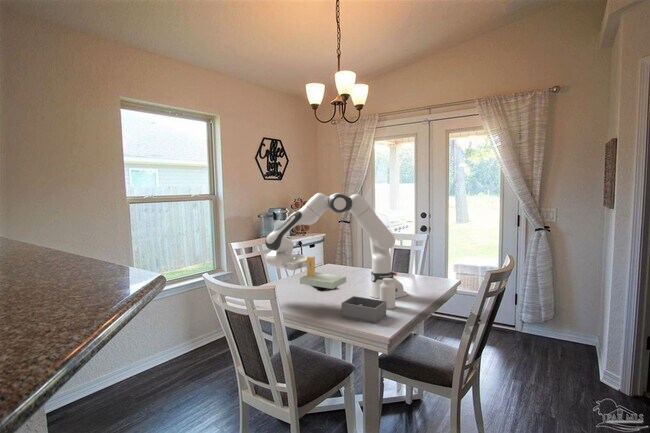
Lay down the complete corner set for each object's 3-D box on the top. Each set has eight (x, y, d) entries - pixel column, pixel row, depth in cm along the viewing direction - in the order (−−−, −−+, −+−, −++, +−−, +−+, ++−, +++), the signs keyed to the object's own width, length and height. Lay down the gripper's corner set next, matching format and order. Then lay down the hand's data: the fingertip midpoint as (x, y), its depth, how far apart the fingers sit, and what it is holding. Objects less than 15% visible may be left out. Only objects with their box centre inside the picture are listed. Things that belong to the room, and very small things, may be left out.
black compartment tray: (316, 278, 251) (316, 273, 250) (343, 287, 226) (343, 282, 226) (295, 282, 240) (295, 277, 240) (321, 292, 216) (321, 286, 216)
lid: (346, 282, 186) (346, 257, 185) (332, 288, 173) (332, 262, 172) (315, 277, 196) (314, 254, 195) (299, 283, 184) (299, 258, 183)
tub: (386, 315, 175) (386, 301, 174) (375, 323, 163) (375, 308, 163) (353, 309, 184) (353, 296, 183) (341, 317, 173) (341, 302, 172)
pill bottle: (393, 304, 191) (393, 276, 190) (396, 309, 183) (396, 280, 182) (378, 304, 191) (378, 277, 190) (381, 309, 183) (381, 280, 182)
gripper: (279, 259, 186) (300, 262, 178) (301, 253, 203) (322, 255, 196) (279, 271, 186) (301, 274, 179) (301, 264, 203) (322, 267, 196)
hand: (312, 264), depth 187 cm, fingers closed on lid, 3 cm apart
